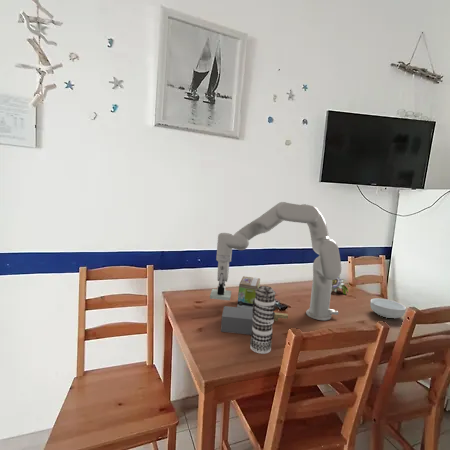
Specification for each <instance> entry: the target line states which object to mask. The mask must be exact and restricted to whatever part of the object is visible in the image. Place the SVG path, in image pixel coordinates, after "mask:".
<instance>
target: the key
mask: <svg viewBox="0 0 450 450" xmlns="http://www.w3.org/2000/svg"><path fill="white" fill-rule="evenodd" d="M273 312H274V313H275V315H274V319H273V320H274V322H279V319H285V320H288V318H289V314H288V313H282V312H275V311H273Z"/></svg>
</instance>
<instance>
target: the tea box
mask: <svg viewBox="0 0 450 450" xmlns="http://www.w3.org/2000/svg"><path fill="white" fill-rule="evenodd" d="M238 285H239V286H238V295H237V305H236V307H238V308H248V309H253V305H254V304H253V300H254V299H255V297H256V292H255V290H256V289H258V288H259V287H260V286H261V278H258V277H252V276H245V275H244V276H242V278H241V280H240V282H239V284H238Z"/></svg>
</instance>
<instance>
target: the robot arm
mask: <svg viewBox="0 0 450 450" xmlns="http://www.w3.org/2000/svg"><path fill="white" fill-rule="evenodd" d="M285 221H286V222H290V223H291V222H292V223H300V224H306V225H307V226H308V230H309V233H310V240H311V247H312V250H313V251H314V252H315V254H317V255H318V256H317V257H316V258H315V259H314V260H313V263H312V284H311V294H310V302H309V308H308V309H307V310H306V311H305V312H306V316H307V317H308V318H311V319H314V320H317V321H329V320H331V319H332V315H336V316H339V311H338V310H335V309H331V308H330V303H331V295H332V292H331V289H332V280H335V279H337V278H338V277H339V276H340V277H341V274H342V263H341V255H340V250H339V246H338V244H337V242H336V241H335V240H333V239H331V238H330V236H329V231H328V226H327V223H326V220H325V218H324V216H323V215H322V213H321V212H320V211H319V209H318V208H317V207H315V206H314V205H310V204H306V203H305V204H304V203H303V204H297V203H292V202H291V203H290V202H286V201H281V202H279V203H277V204H275V205H273V206H272V207H271V208H269V209H268V210H266V211H265V213H263V214H262V215H260V216H259V217H257V218H256V219H254V220H252V221H250V222H249V223H247V224H246V225H244V226H243V227H241V228H240V229H239V230H238V231H236V232H235V233H234V234H232V233H228V232H219V234H218V235H217V244H216V245H217V247H216V256H215V257H216V259H215V260H216V262H218V263H217V282H218V285H217V288H218V295H224V286H225V287H226V283H227V282H228V280H229V273H230V272H229V270H230V262H232V255H233V250H236V251H237V250H238V251H244V250H246V249H247V248H248V247H249V244H250V242H249V241H250V240H252V239H253V238H254V237H256V236H258V235H260V234H261V235H262V234H266V233H268V232H270V231H271V230H272V229H274V228H276V227H277V226H278V225H279V224H281V223H283V222H285Z"/></svg>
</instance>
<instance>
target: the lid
mask: <svg viewBox="0 0 450 450" xmlns="http://www.w3.org/2000/svg"><path fill="white" fill-rule="evenodd" d="M231 298H232V290H227V289H226V285H225V286H224V295H218V287H217V288H212V289H211V292H210V294H209V299H213V300H221V301H228V302H229V301H231Z"/></svg>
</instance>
